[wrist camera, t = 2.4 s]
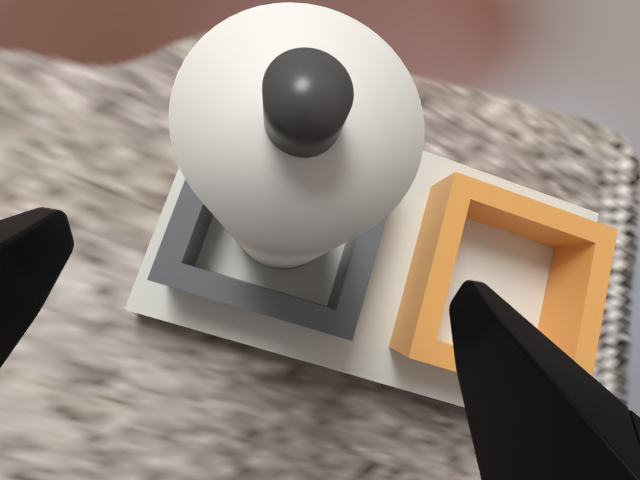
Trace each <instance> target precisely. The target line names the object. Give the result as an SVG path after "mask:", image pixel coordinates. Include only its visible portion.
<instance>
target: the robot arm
mask: <svg viewBox="0 0 640 480" xmlns="http://www.w3.org/2000/svg"><path fill="white" fill-rule="evenodd" d="M73 247H74V240H73V236H72V233H71V229H70V226H69V222H68V219H67V216H66V214H65V213H64V212H63V211H61V210H57V209H51V208H44V207H40V208H36V209H33V210H30V211H27V212H24V213H21V214H18V215H15V216H12V217H9V218H5V219H2V220H0V368H1V366H2V365H3V363H4V362H5V360H6V359H7V358H8V356H9V355H10V353H11V352H12V350H13V349H14V348H15V346H16V345H17V343H18V342H19V340H20V339H21V338H22V336H23V335H24V333H25V332H26V331H27V329H28V328H29V326H30V325H31V323H32V322H33V320H34V319H35V317H36V316H37V314H38V313H39V311H40V310H41V308H42V306H43V304H44V303H45V301H46V299H47V297H48V295H49V294H50V292H51V290H52V288H53V286H54V284H55V283H56V281H57V279H58V277H59V275H60V273H61V271H62V270H63V268H64V266H65V264H66V262H67V260H68V259H69V257H70V255H71V253H72V251H73ZM449 316H450V325H451V333H452V341H453V350H454V358H455V365H456V371H457V376H458V380H459V385H460V389H461V393H462V398H463V402H464V406H465V411H466V415H467V419H468V424H469V428H470V432H471V436H472V441H473V445H474V449H475V454H476V458H477V462H478V467H479V471H480V475H481V480H640V417H639V416H637V415H636V414H635V413H634V412H633V411H631V410H629V409H628V407H627V406H626V405H625V404H624V403H622V402H621V401H620V400H619V399H618V398H617V397H615V396H614V395H613V394H612V393H611V392H610V391H609V390H607V389H606V388H605V387H604V386H603V385H602V384H601V383H599V382H598V381H597V380H596V379H595V378H594V377H592V376H591V375H590V374H589V373H588V372H587V371H586V370H584V369H583V368H582V367H581V366H580V365H579V364H577V363H576V362H575V361H574V360H573V359H572V358H571V357H569V356H568V355H567V354H566V353H565V352H564V351H562V350H561V349H560V348H559V347H558V346H557V345H556V344H554V343H553V342H552V341H551V340H550V339H549V338H547V337H546V336H545V335H544V334H543V333H542V332H541V331H539V330H538V329H537V328H536V327H535V326H534V325H533V324H531V323H530V322H529V321H528V320H527V319H526V318H524V317H523V316H522V315H521V314H520V313H519V312H518V311H516V310H515V309H514V308H513V307H512V306H511V305H510V304H508V303H507V302H506V301H505V300H504V299H503V298H501V297H500V296H499V295H498V294H497V293H496V292H495V291H493V290H492V289H491V288H490V287H489V286H488V285H486V284H485V283H483V282H480V281H474V280H466V281H465V282H463V284H462V285H461V287H460V288H459V290H458V291H457V293H456V294H455V296H454V297H453V299H452V301H451V303H450V306H449Z"/></svg>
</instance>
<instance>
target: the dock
mask: <svg viewBox="0 0 640 480" xmlns="http://www.w3.org/2000/svg"><path fill="white" fill-rule="evenodd" d="M598 214H599V213H596V212H593V211H590V210H587V209H585V208H582V207H579V206H576V205H574V204H571V203H568V202H565V201H562V200H560V199H557V198H554V197H551V196H549V195H546V194H543V193H540V192H537V191H535V190H532V189H529V188H526V187H524V186H521V185H518V184H515V183H512V182H510V181H507V180H504V179H501V178H499V177H496V176H493V175H490V174H487V173H485V172H482V171H479V170H476V169H473V168H471V167H468V166H465V165H462V164H460V163H457V162H454V161H451V160H448V159H446V158H443V157H440V156H437V155H435V154H432V153H429V152H426V151H423V153H422V158H421V163H420V165H419V168H418V171H417V174H416V177H415V179H414V181H413V183H412V185H411V187H410V189H409V191H408V192H407V193H406V195H405V196H404V198H403V199H402V201H401V202H400V203H399V205H398V206H397V207H396V208H395V209H394V210H393V211H392V212H391V213H390V214H389V215H388V216H387V217H386V218H384V219H383V220H382V221H381V222H380V223H378V224H377V225H376V226H374V227H372V228H371V229H369V230H368V231H366V232H364V233H363V234H361V235H359V236H357V237H355V238H353V239H351V240H349V241H347V242H346V243H344V244H342V245H340V246H338V247H336V248H334V249H332V250H330V251H328V252H327V253H325V254H323V255H321V256H319V257H317V258H315V259H313V260H311V261H310V262H308V263H306V264H304V265H301V266H299V267H296V268H291V269H274V268H270V267H267V266H264V265H262V264H260V263H258V262H256V261H255V260H254V259H252V258H251V257H250V256H249V255H248V254H247V253H246V252H245V251H244V250H243V248H242V247H241V246H240V245H239V244H238V243H237V242H236V240H235V239H234V238H233V237H232V236H231V235H230V234H229V232H228V231H227V230H226V229H225V228H224V227H223V226H222V225H221V223H220V222H219V221H218V220H217V219H216V218H215V217H214V215H213V214H212V213H211V212H210V211H209V210H208V209H207V207H206V206H205V205H204V204H203V203H202V202H201V200H200V199H199V198H198V197H197V195H196V194H195V193H194V192H193V190H192V189H191V188H190V186H189V184H188V183H187V181H186V179H185V178H184V176H183V174H182V172H181V170H180V167H179V169H178V172H177V174H176V177H175V179H174V182H173V185H172V187H171V190H170V192H169V195H168V198H167V200H166V203H165V205H164V208H163V211H162V213H161V216H160V218H159V221H158V223H157V226H156V229H155V231H154V234H153V236H152V239H151V242H150V244H149V247H148V249H147V252H146V255H145V257H144V260H143V262H142V265H141V268H140V270H139V273H138V275H137V278H136V281H135V283H134V286H133V288H132V291H131V294H130V296H129V299H128V301H127V304H126V307H125V309H124V310H128V311H131V312H135V313H138V314H142V315H145V316H149V317H152V318H156V319H159V320H163V321H166V322H170V323H173V324H177V325H180V326H183V327H187V328H190V329H194V330H197V331H201V332H204V333H208V334H211V335H215V336H218V337H222V338H225V339H229V340H232V341H236V342H239V343H243V344H246V345H249V346H253V347H256V348H260V349H263V350H267V351H270V352H274V353H277V354H281V355H284V356H288V357H291V358H295V359H298V360H302V361H305V362H309V363H312V364H315V365H319V366H322V367H326V368H329V369H333V370H336V371H340V372H343V373H347V374H350V375H354V376H357V377H361V378H364V379H368V380H371V381H375V382H378V383H381V384H385V385H388V386H392V387H395V388H399V389H402V390H406V391H409V392H413V393H416V394H420V395H423V396H427V397H430V398H434V399H437V400H441V401H444V402H447V403H451V404H454V405H458V406H461V407H465V406H464V402H463V398H462V393H461V389H460V385H459V380H458V376H457V371H456V365H455V358H454V350H453V341H452V333H451V325H450V316H449V306H450V303H451V301H452V299H453V297H454V296H455V294H456V293H457V291H458V290H459V288H460V287H461V285H462V284H463V282H465V281H466V280H474V281H480V282H483V283H485V284H486V285H488V286H489V287H490V288H491V289H492V290H493V291H495V292H496V293H497V294H498V295H499V296H500V297H501V298H503V299H504V300H505V301H506V302H507V303H508V304H510V305H511V306H512V307H513V308H514V309H515V310H516V311H518V312H519V313H520V314H521V315H522V316H523V317H524V318H526V319H527V320H528V321H529V322H530V323H531V324H533V325H534V326H535V327H536V328H537V329H538V330H539V331H541V332H542V333H543V334H544V335H545V336H546V337H547V338H549V339H550V340H551V341H552V342H553V343H554V344H556V345H557V346H558V347H559V348H560V349H561V350H562V351H564V352H565V353H566V354H567V355H568V356H569V357H571V358H572V359H573V360H574V361H575V362H576V363H577V364H579V365H580V366H581V367H582V368H583V369H584V370H586V371H587V372H588V373H589V374H590V375H591V376H592V375H593V370H594V364H595V358H596V352H597V346H598V340H599V335H600V329H601V323H602V317H603V311H604V306H605V300H606V294H607V288H608V282H609V276H610V271H611V265H612V259H613V253H614V247H615V241H616V236H617V230H618V229H615V228H612V227H609V226H606V225H604V224H601V223H598V222H597V219H598Z"/></svg>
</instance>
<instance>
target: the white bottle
mask: <svg viewBox="0 0 640 480" xmlns="http://www.w3.org/2000/svg"><path fill="white" fill-rule="evenodd" d="M169 131H170V139H171V144H172V147H173V151H174V155H175V158H176V160H177V163H178V165H179V167H180V170H181V172H182V174H183V176H184V178H185V179H186V181H187V183H188V184H189V186H190V188H191V189H192V190H193V192H194V193H195V194H196V195H197V197H198V198H199V199H200V200H201V202H202V203H203V204H204V205H205V206H206V207H207V209H208V210H209V211H210V212H211V213H212V214H213V215H214V217H215V218H216V219H217V220H218V221H219V222H220V223H221V225H222V226H223V227H224V228H225V229H226V230H227V231H228V232H229V234H230V235H231V236H232V237H233V238H234V239H235V240H236V242H237V243H238V244H239V245H240V246H241V247H242V248H243V250H244V251H245V252H246V253H247V254H248V255H249V256H250V257H251V258H252V259H254V260H255V261H256V262H258V263H260V264H262V265H264V266H267V267H270V268H274V269H291V268H296V267H299V266H301V265H304V264H306V263H308V262H310V261H311V260H313V259H315V258H317V257H319V256H321V255H323V254H325V253H327V252H328V251H330V250H332V249H334V248H336V247H338V246H340V245H342V244H344V243H346V242H347V241H349V240H351V239H353V238H355V237H357V236H359V235H361V234H363V233H364V232H366V231H368V230H369V229H371V228H372V227H374V226H376V225H377V224H378V223H380V222H381V221H382V220H383V219H384V218H386V217H387V216H388V215H389V214H390V213H391V212H392V211H393V210H394V209H395V208H396V207H397V206H398V205H399V203H400V202H401V201H402V199H403V198H404V196H405V195H406V193H407V192H408V191H409V189H410V187H411V185H412V183H413V181H414V179H415V177H416V174H417V171H418V168H419V165H420V163H421V158H422V153H423V148H424V134H425V130H424V116H423V111H422V106H421V101H420V98H419V95H418V92H417V89H416V86H415V84H414V82H413V80H412V78H411V76H410V74H409V72H408V70H407V69H406V67H405V66H404V64H403V62H402V61H401V59H400V58H399V57H398V56H397V54H396V53H395V52H394V51H393V50H392V48H391V47H390V46H389V45H388V44H387V43H386V42H385V41H384V40H383V39H382V38H381V37H380V36H378V35H377V34H376V33H375V32H373V31H372V30H371V29H369V28H368V27H367V26H365V25H363V24H362V23H360V22H358V21H357V20H355V19H353V18H351V17H349V16H347V15H345V14H342V13H340V12H338V11H335V10H332V9H329V8H325V7H321V6H316V5H311V4H304V3H274V4H268V5H262V6H258V7H254V8H251V9H248V10H244V11H242V12H240V13H238V14H236V15H233V16H231V17H229V18H227V19H226V20H225V21H223V22H221V23H219V24H218V25H216V26H215V27H214V28H212V29H211V30H210V31H209V32H208V33H206V34H205V35H204V36H203V37H202V38H201V39H200V40H199V41H198V43H197V44H196V45H195V46H194V47H193V48H192V50H191V51H190V53H189V54H188V55H187V57H186V58H185V60H184V62H183V64H182V66H181V68H180V70H179V72H178V74H177V76H176V79H175V82H174V85H173V89H172V92H171V98H170V104H169Z"/></svg>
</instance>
